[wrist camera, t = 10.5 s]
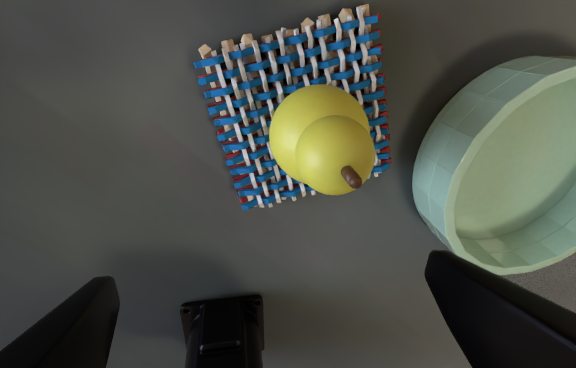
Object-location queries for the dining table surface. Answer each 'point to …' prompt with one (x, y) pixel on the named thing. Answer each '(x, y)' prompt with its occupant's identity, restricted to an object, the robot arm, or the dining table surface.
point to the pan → (504, 167)
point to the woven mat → (292, 53)
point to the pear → (323, 139)
